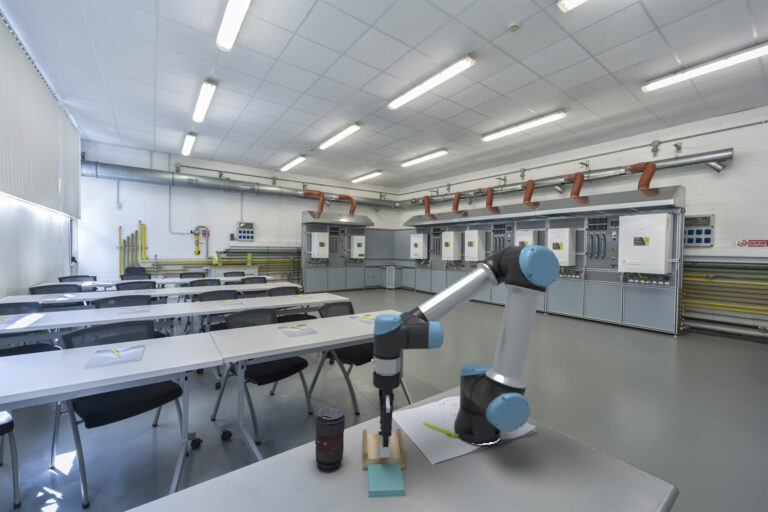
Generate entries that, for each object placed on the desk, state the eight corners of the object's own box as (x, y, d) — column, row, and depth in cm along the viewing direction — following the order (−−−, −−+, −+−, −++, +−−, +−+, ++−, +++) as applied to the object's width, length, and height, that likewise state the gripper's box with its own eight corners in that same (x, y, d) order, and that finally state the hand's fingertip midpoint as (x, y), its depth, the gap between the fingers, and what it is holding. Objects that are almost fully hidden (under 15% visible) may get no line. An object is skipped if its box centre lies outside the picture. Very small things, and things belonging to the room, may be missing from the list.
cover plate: (399, 470, 89) (399, 463, 89) (404, 497, 79) (404, 489, 79) (367, 471, 88) (367, 464, 88) (368, 499, 78) (368, 491, 78)
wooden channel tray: (399, 442, 101) (400, 428, 101) (405, 467, 89) (405, 452, 89) (362, 443, 100) (362, 429, 100) (363, 469, 88) (363, 453, 88)
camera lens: (338, 476, 85) (339, 421, 85) (310, 471, 87) (311, 417, 87) (347, 457, 93) (348, 407, 93) (321, 453, 95) (322, 403, 95)
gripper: (372, 363, 94) (370, 442, 94) (374, 380, 81) (372, 472, 81) (397, 362, 94) (395, 441, 94) (403, 380, 81) (401, 471, 81)
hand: (384, 455), depth 88 cm, fingers closed
